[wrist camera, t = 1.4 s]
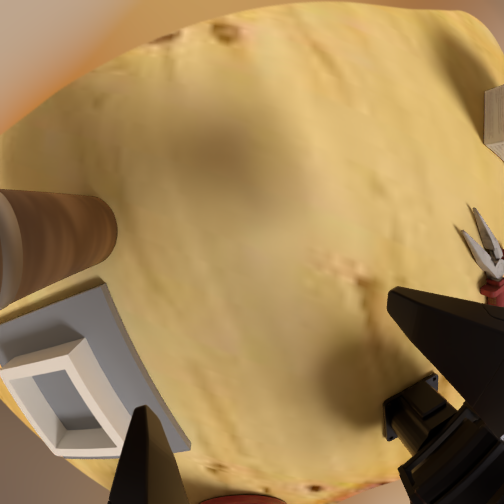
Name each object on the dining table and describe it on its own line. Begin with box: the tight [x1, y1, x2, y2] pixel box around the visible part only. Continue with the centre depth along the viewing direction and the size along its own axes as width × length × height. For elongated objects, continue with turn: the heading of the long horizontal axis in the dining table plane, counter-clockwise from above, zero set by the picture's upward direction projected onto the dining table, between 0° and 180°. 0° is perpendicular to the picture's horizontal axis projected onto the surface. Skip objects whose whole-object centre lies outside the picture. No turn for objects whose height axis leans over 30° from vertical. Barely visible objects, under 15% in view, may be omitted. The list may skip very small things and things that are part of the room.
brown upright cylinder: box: [0, 189, 117, 310], centre depth 12 cm, size 5×5×12 cm
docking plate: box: [0, 283, 191, 459], centre depth 18 cm, size 16×16×4 cm
